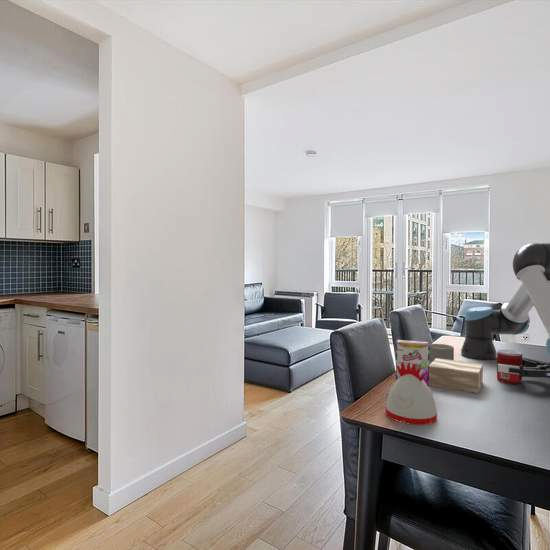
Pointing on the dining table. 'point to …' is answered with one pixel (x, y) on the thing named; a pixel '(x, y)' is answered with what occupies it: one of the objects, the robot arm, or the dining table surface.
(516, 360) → the canned food
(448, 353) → the coffee mug
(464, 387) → the oak box
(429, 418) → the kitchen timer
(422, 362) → the candy bar box
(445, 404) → the dining table surface
